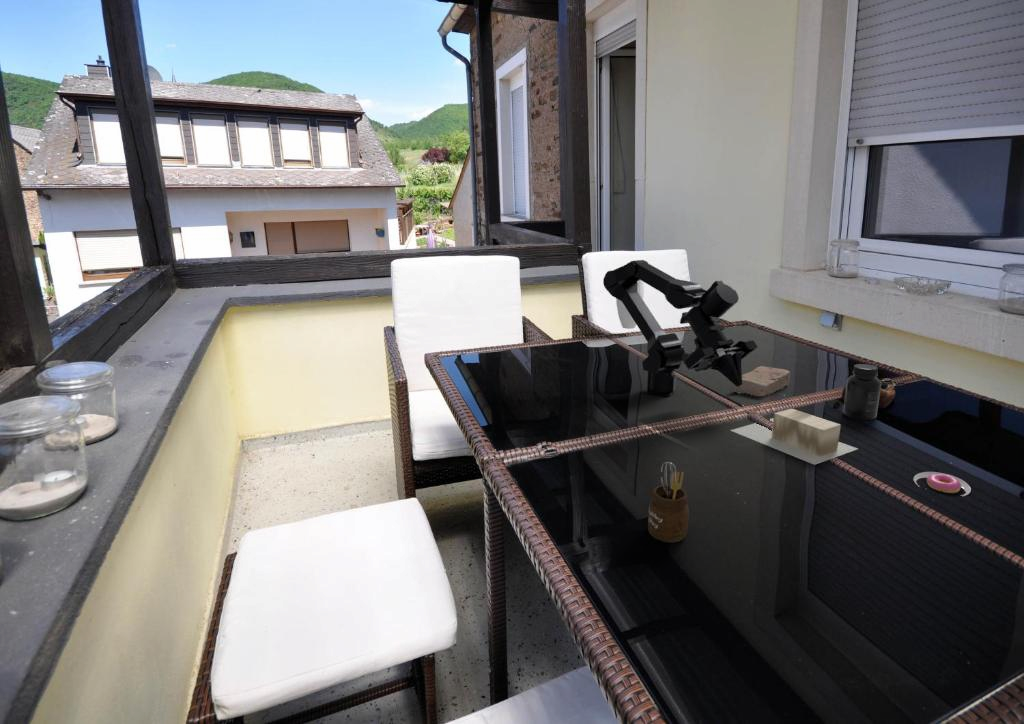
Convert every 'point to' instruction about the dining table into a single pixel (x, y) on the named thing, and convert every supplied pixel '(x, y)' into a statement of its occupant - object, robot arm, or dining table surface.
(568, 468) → the dining table surface
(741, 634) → the dining table surface
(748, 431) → the mat
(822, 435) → the block
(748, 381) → the brick
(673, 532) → the utensil holder
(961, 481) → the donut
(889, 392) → the pastry
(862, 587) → the dining table surface
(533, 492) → the dining table surface
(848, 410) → the supplement bottle
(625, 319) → the cup
